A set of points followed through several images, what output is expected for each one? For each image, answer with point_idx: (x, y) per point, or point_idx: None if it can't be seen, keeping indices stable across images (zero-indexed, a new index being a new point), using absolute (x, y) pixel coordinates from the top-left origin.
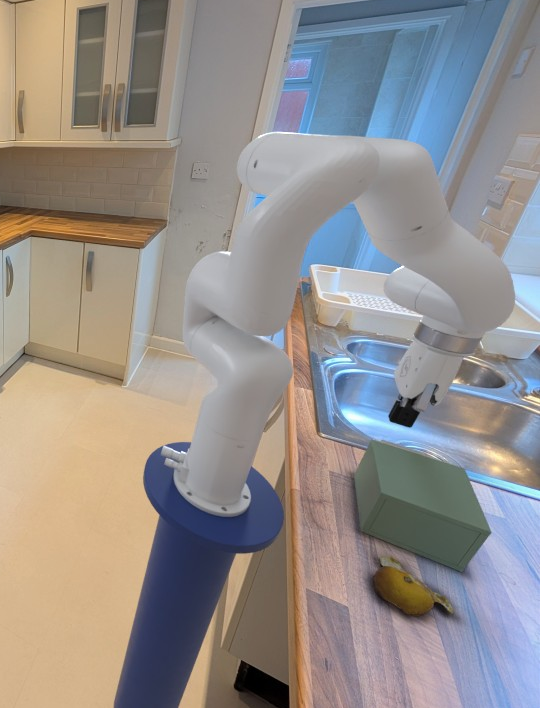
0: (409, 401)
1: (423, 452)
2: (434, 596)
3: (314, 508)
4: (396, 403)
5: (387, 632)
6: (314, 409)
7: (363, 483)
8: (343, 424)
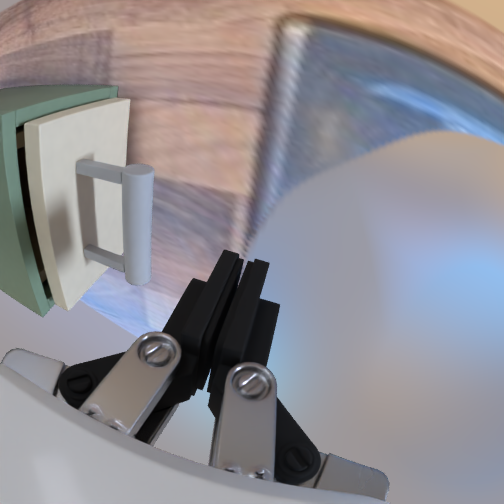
0: (81, 383)
1: (132, 279)
2: None
3: (17, 21)
4: (224, 335)
5: None
6: (464, 70)
7: (22, 92)
8: (398, 135)
